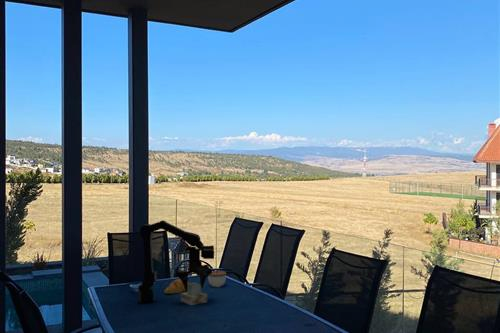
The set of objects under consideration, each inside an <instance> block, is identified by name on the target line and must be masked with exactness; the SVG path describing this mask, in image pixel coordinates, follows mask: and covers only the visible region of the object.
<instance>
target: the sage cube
mask: <svg viewBox="0 0 500 333" xmlns="http://www.w3.org/2000/svg"><path fill="white" fill-rule="evenodd" d="M187 286H188V288H187V294H190V295H192V296H193V295H198V294H201V292H202V288H201V284H200V283H198V282H191V283H190V284H187Z"/></svg>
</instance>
